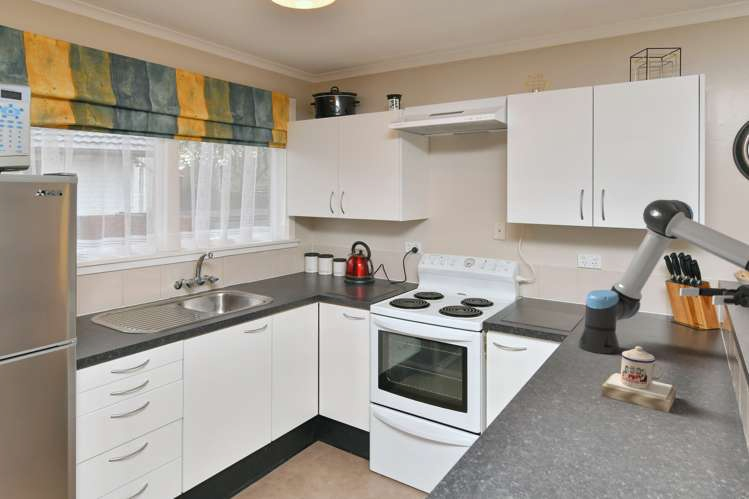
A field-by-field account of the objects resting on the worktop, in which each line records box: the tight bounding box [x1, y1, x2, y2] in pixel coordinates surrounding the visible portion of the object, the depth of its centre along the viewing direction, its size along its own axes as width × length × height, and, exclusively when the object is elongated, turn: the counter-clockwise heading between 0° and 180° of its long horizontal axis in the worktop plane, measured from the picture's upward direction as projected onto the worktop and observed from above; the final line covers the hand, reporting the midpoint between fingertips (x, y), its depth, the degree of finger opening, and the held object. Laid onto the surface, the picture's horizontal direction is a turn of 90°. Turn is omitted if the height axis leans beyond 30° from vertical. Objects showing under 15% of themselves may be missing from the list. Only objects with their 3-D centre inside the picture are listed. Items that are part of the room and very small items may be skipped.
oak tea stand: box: [600, 372, 677, 413], centre depth 152 cm, size 18×14×4 cm
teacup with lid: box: [620, 345, 666, 389], centre depth 150 cm, size 12×9×12 cm
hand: (696, 296), depth 160 cm, fingers open, 13 cm apart
